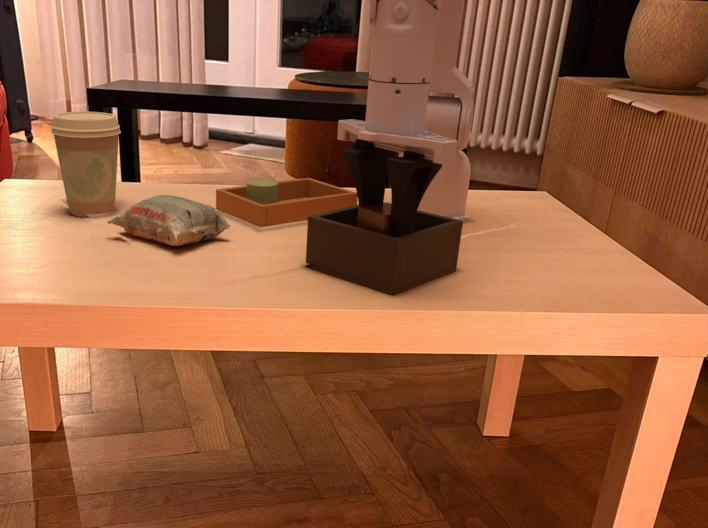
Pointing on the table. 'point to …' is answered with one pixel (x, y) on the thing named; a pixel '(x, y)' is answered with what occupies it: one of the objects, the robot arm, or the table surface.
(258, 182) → the green cylinder
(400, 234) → the walnut block
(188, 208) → the packaged food
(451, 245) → the black basket
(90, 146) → the coffee cup
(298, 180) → the brown wooden tray
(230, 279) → the table surface
